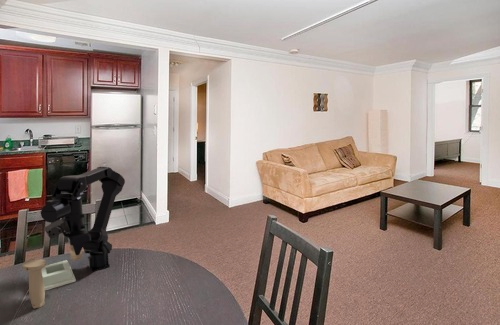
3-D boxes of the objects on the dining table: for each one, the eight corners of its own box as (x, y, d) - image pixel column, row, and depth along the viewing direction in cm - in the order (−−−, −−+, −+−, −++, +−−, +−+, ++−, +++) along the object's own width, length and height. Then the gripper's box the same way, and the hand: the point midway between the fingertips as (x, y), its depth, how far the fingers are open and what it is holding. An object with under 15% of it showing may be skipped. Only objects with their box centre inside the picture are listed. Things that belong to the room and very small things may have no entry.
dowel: (80, 254, 106) (79, 234, 105) (83, 258, 104) (81, 237, 102) (70, 257, 104) (68, 237, 102) (72, 261, 101) (70, 240, 100)
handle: (36, 299, 95) (32, 257, 93) (53, 302, 94) (49, 260, 92) (22, 309, 91) (18, 265, 88) (40, 312, 90) (36, 268, 87)
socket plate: (70, 268, 114) (69, 258, 114) (75, 281, 106) (74, 270, 106) (36, 278, 107) (35, 266, 107) (39, 292, 99) (37, 280, 98)
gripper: (40, 209, 102) (45, 250, 105) (50, 225, 88) (54, 271, 91) (76, 203, 109) (79, 241, 112) (90, 217, 96) (92, 260, 99)
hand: (76, 252), depth 103 cm, fingers closed on dowel, 3 cm apart
